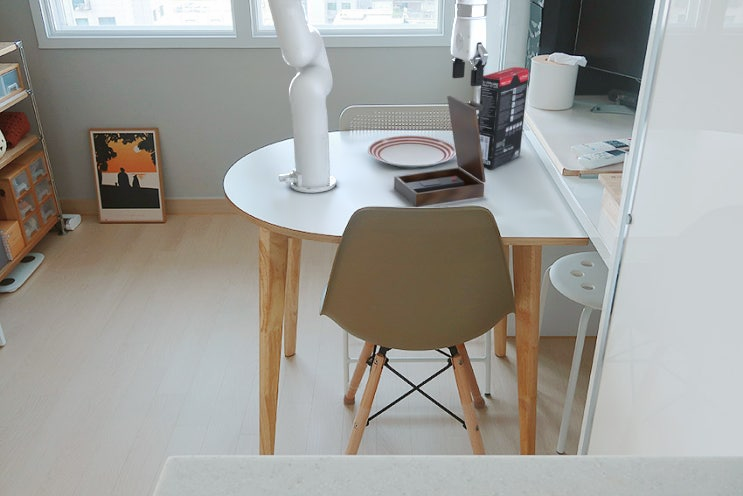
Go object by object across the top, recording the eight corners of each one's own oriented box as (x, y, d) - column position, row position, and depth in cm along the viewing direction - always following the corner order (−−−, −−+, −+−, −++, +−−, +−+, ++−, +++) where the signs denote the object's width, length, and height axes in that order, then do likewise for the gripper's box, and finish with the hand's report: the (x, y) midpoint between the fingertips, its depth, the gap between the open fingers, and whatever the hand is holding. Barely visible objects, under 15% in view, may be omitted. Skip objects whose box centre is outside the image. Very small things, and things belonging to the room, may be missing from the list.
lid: (473, 109, 175) (491, 103, 176) (447, 96, 187) (464, 90, 188) (483, 182, 185) (500, 176, 186) (457, 166, 197) (473, 160, 198)
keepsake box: (415, 210, 181) (416, 194, 179) (394, 191, 193) (394, 176, 191) (483, 199, 187) (484, 184, 185) (458, 181, 199) (458, 167, 198)
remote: (412, 199, 185) (413, 188, 184) (405, 193, 189) (405, 182, 188) (463, 192, 190) (464, 180, 188) (455, 186, 194) (456, 174, 193)
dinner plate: (472, 166, 211) (473, 155, 210) (388, 178, 202) (388, 167, 201) (432, 141, 234) (432, 131, 233) (355, 151, 225) (354, 141, 224)
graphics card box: (502, 152, 222) (509, 65, 211) (522, 157, 218) (530, 68, 207) (473, 166, 211) (478, 74, 199) (494, 171, 207) (500, 78, 195)
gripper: (441, 7, 178) (438, 76, 186) (474, 16, 164) (470, 90, 171) (468, 6, 181) (464, 73, 188) (503, 15, 166) (497, 87, 174)
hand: (467, 81), depth 180 cm, fingers open, 9 cm apart
